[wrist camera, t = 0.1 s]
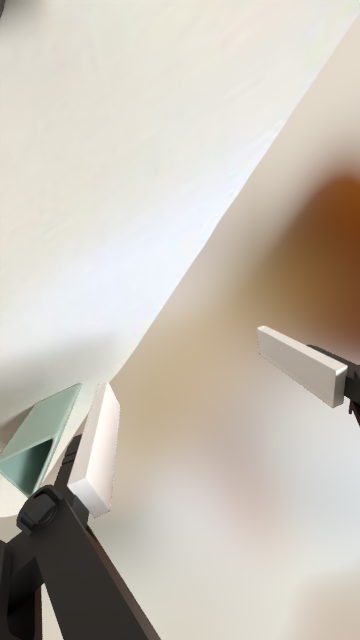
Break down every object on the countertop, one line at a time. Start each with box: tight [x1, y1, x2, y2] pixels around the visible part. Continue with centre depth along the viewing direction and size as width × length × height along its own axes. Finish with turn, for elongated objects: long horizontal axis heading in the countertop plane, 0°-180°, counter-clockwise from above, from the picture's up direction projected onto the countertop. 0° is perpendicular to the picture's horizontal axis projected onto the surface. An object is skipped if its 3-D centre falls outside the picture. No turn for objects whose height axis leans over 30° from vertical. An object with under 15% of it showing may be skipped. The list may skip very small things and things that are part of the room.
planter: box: [0, 383, 82, 499], centre depth 34 cm, size 16×8×20 cm, turn 154°
